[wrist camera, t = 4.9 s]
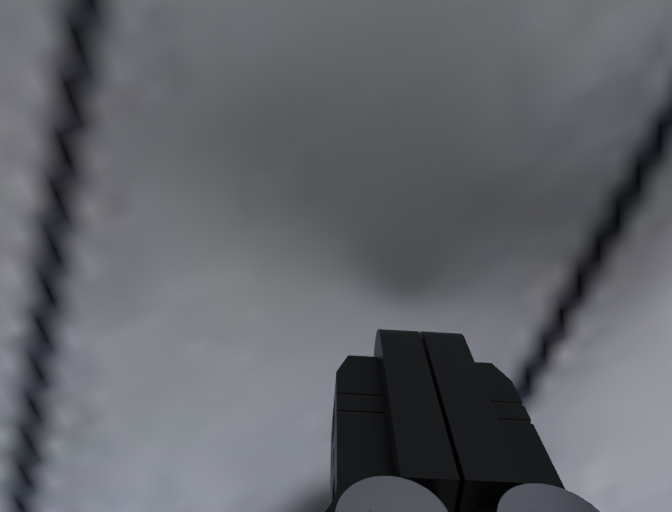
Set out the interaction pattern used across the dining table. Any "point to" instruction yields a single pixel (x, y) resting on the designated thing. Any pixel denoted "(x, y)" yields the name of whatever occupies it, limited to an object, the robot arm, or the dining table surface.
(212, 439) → the dining table surface
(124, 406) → the dining table surface
